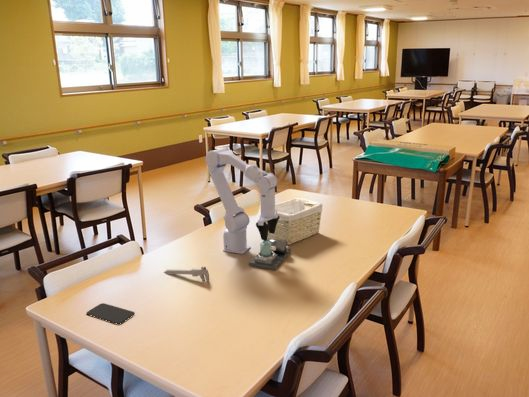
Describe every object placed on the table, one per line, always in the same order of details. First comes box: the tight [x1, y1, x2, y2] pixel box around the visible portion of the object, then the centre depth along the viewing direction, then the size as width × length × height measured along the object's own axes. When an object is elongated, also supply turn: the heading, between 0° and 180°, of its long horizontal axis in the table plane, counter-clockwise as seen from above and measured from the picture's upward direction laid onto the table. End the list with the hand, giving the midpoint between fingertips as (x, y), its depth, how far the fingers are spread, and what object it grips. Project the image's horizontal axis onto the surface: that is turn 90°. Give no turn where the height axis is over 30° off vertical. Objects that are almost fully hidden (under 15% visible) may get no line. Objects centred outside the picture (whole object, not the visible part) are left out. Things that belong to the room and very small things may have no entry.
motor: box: [248, 237, 292, 271], centre depth 181 cm, size 11×18×6 cm, turn 157°
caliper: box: [163, 266, 210, 283], centre depth 168 cm, size 20×1×6 cm, turn 63°
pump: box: [259, 241, 276, 257], centre depth 176 cm, size 6×4×6 cm
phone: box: [86, 302, 135, 325], centre depth 145 cm, size 7×1×15 cm
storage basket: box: [266, 197, 323, 246], centre depth 204 cm, size 24×16×15 cm
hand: (268, 236), depth 181 cm, fingers open, 7 cm apart
